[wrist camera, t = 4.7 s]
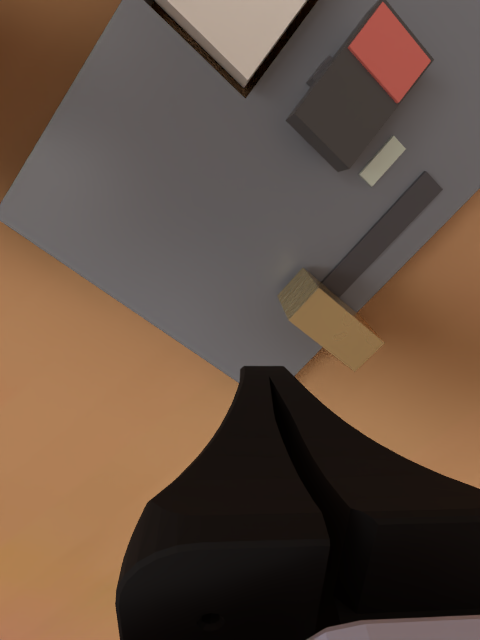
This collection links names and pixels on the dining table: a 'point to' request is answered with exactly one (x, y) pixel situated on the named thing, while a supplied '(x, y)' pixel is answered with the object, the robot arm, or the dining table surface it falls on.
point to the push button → (235, 29)
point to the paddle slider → (328, 320)
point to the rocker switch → (360, 87)
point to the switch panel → (245, 178)
